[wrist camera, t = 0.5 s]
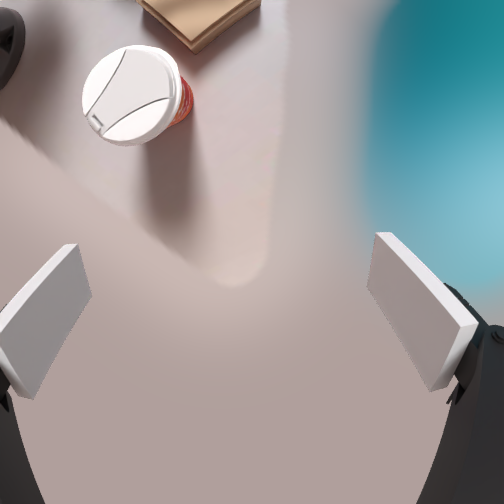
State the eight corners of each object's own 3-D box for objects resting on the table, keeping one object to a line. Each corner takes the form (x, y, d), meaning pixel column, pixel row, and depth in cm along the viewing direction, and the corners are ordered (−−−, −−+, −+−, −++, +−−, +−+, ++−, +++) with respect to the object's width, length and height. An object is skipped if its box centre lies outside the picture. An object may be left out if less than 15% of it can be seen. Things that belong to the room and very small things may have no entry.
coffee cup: (164, 148, 35) (118, 170, 21) (123, 100, 32) (58, 98, 19) (218, 102, 33) (203, 94, 19) (175, 54, 30) (135, 20, 17)
